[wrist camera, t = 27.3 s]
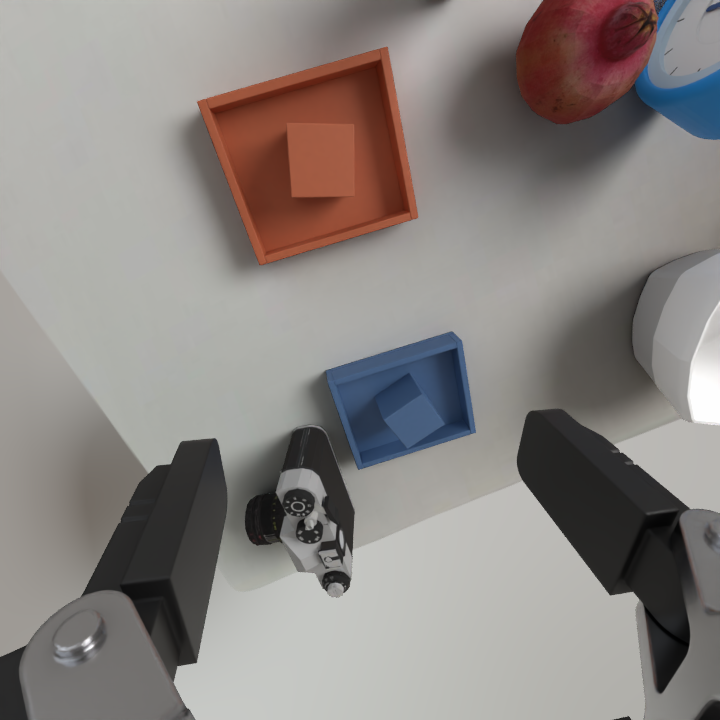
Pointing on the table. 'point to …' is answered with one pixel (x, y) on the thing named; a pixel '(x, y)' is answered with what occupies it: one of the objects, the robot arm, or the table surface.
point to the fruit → (583, 55)
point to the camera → (309, 511)
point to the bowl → (683, 334)
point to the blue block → (408, 411)
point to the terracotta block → (321, 159)
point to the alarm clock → (686, 67)
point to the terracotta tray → (271, 163)
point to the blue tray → (376, 373)
